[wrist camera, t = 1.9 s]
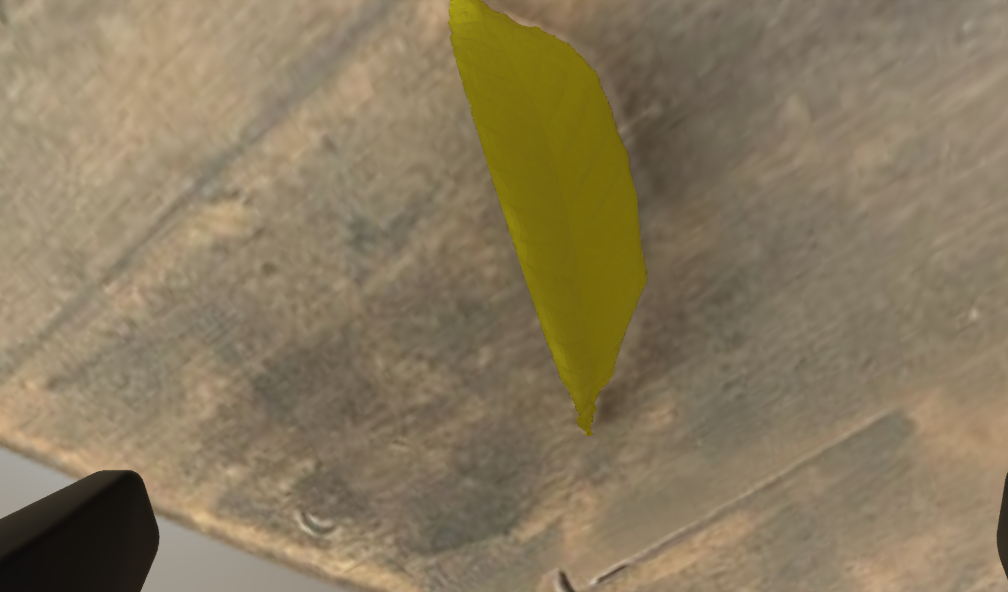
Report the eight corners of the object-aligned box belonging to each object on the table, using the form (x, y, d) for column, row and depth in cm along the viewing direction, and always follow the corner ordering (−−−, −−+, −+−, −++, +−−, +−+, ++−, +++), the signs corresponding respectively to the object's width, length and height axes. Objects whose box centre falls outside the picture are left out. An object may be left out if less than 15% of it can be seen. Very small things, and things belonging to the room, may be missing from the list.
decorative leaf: (696, 415, 18) (599, 509, 16) (622, 401, 20) (525, 485, 18) (584, -46, 15) (445, -1, 13) (506, -21, 16) (370, 22, 14)
